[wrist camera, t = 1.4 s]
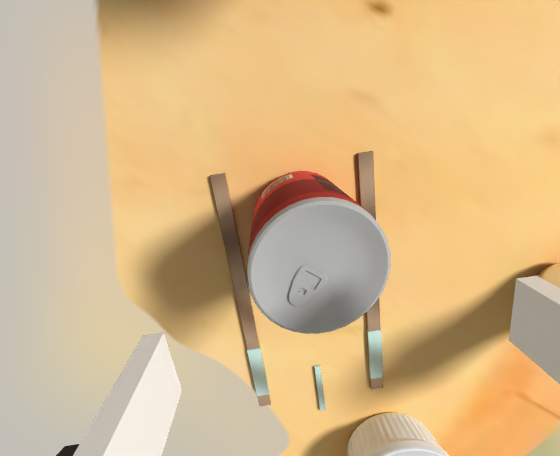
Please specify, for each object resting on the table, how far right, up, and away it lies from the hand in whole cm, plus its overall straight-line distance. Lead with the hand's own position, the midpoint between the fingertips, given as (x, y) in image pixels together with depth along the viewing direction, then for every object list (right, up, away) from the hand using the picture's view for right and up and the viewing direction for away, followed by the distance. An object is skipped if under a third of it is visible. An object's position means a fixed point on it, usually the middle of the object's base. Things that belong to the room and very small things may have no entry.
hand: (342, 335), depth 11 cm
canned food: (-1, +5, +15) cm, 16 cm away
